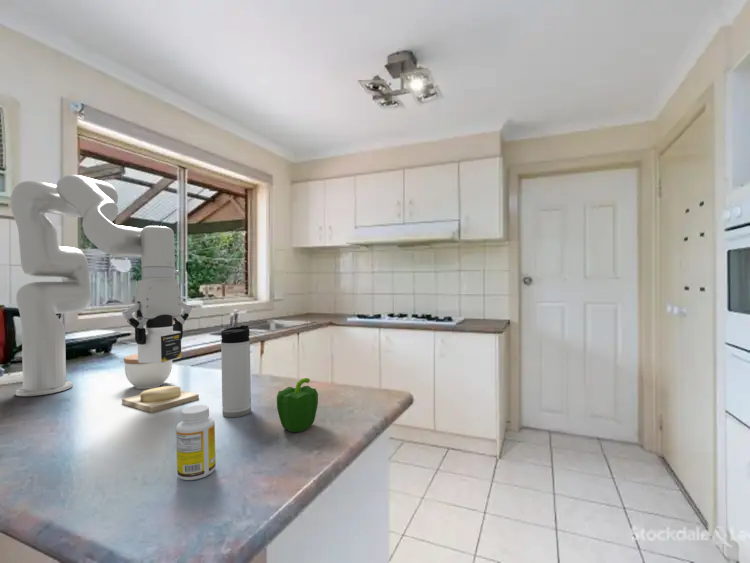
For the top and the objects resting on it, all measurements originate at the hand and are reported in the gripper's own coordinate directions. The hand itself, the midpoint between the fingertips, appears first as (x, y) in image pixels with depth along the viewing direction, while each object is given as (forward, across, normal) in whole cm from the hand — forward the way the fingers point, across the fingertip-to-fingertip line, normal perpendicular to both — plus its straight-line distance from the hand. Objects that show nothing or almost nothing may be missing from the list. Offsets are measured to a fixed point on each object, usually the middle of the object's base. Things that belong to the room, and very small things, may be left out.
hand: (160, 341), depth 99 cm
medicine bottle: (+5, 0, 0) cm, 5 cm away
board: (+15, 0, 0) cm, 15 cm away
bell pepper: (+16, -4, +44) cm, 47 cm away
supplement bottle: (+16, +18, +43) cm, 49 cm away
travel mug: (+16, -4, +25) cm, 30 cm away
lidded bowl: (+16, -7, -19) cm, 26 cm away
